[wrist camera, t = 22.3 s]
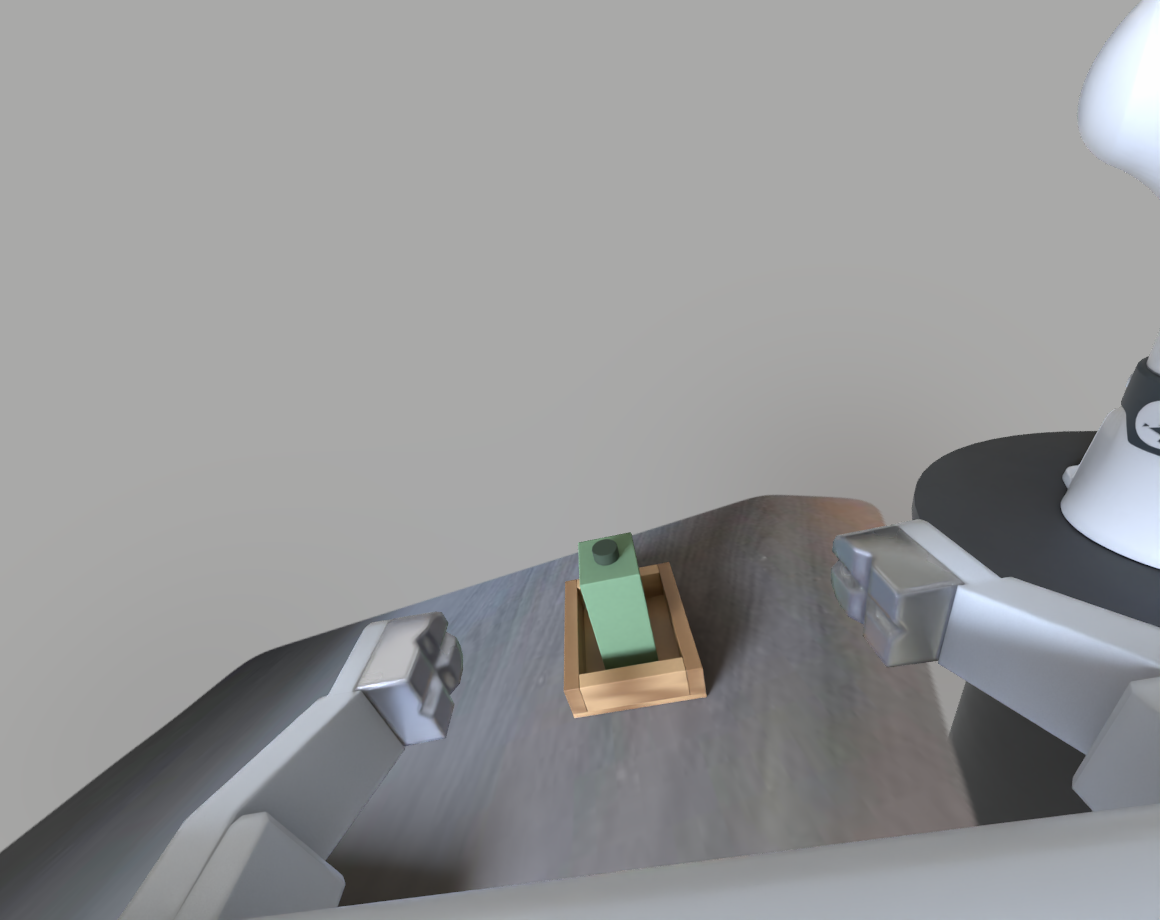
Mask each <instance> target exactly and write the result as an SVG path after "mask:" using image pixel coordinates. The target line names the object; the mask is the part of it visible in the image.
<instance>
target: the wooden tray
mask: <svg viewBox="0 0 1160 920" xmlns="http://www.w3.org/2000/svg"><path fill="white" fill-rule="evenodd" d="M639 571H640V576H641V580H642V585H643V590H644V595H645V599H646V604H647V609H648V613H649V618H650V623H651V627H652V632H653V637H654V641H655V646H656V651H657V655H658V660H659V661H655V662H649V663H643V664H638V665H632V666H626V667H620V668H614V669H608V670H605V666H604V663H603V660H602V657H601V653H600V650H599V647H598V644H597V640H596V637H595V634H594V631H593V627H592V624H591V621H590V618H589V614H588V611H587V608H586V605H585V601H584V598H583V595H582V592H581V588H580V581H579V579H578V580H571V581H566V582H565V642H564V693H565V695H566V698H567V700H568V703H569V705H570V708H571V710H572V713H573V715H574V718H579V717H585V716H591V715H597V714H603V713H610V712H616V711H622V710H628V709H635V708H641V707H647V706H653V705H659V704H666V703H672V702H678V701H684V700H690V699H697V698H703V697H707V694H706V687H705V680H704V673H703V667H702V664H701V661H700V657H699V654H698V651H697V648H696V645H695V642H694V638H693V635H692V632H691V629H690V626H689V623H688V619H687V616H686V613H685V610H684V607H683V604H682V600H681V597H680V594H679V591H678V588H677V584H676V581H675V578H674V575H673V572H672V569H671V565H670V562H666V563H661V564H656V565H651V566H645V567H640V568H639Z"/></svg>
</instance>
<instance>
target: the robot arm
mask: <svg viewBox="0 0 1160 920" xmlns="http://www.w3.org/2000/svg"><path fill="white" fill-rule="evenodd" d="M1077 119H1078V128H1079V131H1080V135H1081V138H1082V140H1083V142H1084V144H1085V145H1086V147H1087V148H1088V149H1089V151H1090V152H1091V153H1092V154H1093V155H1094V156H1096V157H1097V158H1098V159H1099V160H1101V161H1103V162H1104V163H1106V164H1108V165H1110V166H1113V167H1115V168H1118V169H1120V170H1123V171H1124V172H1126V173H1128V174H1129V175H1131V176H1133V177H1135V178H1136V179H1138V180H1139V181H1140V182H1142V183H1143V184H1144V185H1145V186H1147V187H1148V188H1149V189H1150V190H1151V191H1152V192H1153V193H1154V194H1155V195H1156V196H1157V197H1158V199H1159V200H1160V0H1141V1H1140V2H1139V3H1138V4H1137V5H1136V7H1134V8H1133V10H1132V11H1131V12H1130V13H1129V14H1128V15H1127V16H1126V17H1125V18H1124V20H1123V21H1122V22H1121V23H1120V24H1119V25H1118V27H1117V28H1116V29H1115V31H1114V32H1113V33H1112V35H1111V36H1110V37H1109V39H1108V40H1107V41H1106V42H1105V44H1104V46H1103V47H1102V49H1101V50H1100V52H1099V53H1098V55H1097V56H1096V58H1095V60H1094V62H1093V64H1092V66H1091V68H1090V69H1089V72H1088V74H1087V76H1086V79H1085V81H1084V84H1083V87H1082V90H1081V93H1080V98H1079V103H1078V112H1077ZM1126 387H1127V389H1126V391H1125V393H1124V396H1123V398H1122V401H1121V405H1122V407H1119V408H1116V409H1113V410H1112V411H1110V412H1109V413H1108V415H1107V416H1106V418H1105V419H1104V421H1103V423H1102V425H1101V427H1100V428H1099V430H1098V432H1097V433H1096V435H1095V437H1094V439H1093V441H1092V442H1091V444H1090V446H1089V448H1088V450H1087V452H1086V454H1085V455H1084V457H1083V459H1082V461H1081V463H1080V465H1076V466H1070V467H1068V468H1067V469H1066V471H1065V472H1064V474H1063V476H1062V479H1063V481H1064V483H1065V485H1066V487H1067V488H1068V490H1067V492H1066V494H1065V495H1064V497H1063V498H1062V501H1061V510H1062V513H1063V515H1064V516H1065V518H1066V519H1067V520H1068V521H1069V523H1070V524H1071V525H1072V526H1074V527H1075V528H1076V529H1077V530H1078V531H1080V532H1081V533H1082V534H1084V535H1085V536H1087V537H1088V538H1090V539H1091V540H1093V541H1095V542H1097V543H1098V544H1100V545H1102V546H1104V547H1106V548H1108V549H1110V550H1112V551H1114V552H1116V553H1119V554H1121V555H1123V556H1125V557H1128V558H1130V559H1133V560H1135V561H1138V562H1141V563H1143V564H1146V565H1149V566H1152V567H1155V568H1158V569H1160V330H1159V333H1158V335H1157V338H1156V340H1155V343H1154V345H1153V348H1152V351H1151V353H1150V355H1149V356H1148V357H1146V358H1144V359H1142V360H1141V361H1140V362H1139V363H1138V365H1137V367H1136V369H1135V371H1134V373H1133V374H1132V375H1131V376H1130V377H1129V379H1128V381H1127V384H1126ZM832 552H833V553H834V554H835V555H836V557H837V558H838V559H839V560H838V561H837V563H836V564H835V565H834V566H833V567H832V568H831V583H832V587H833V590H834V594H835V596H836V598H837V600H838V602H839V604H840V606H841V607H842V609H843V610H844V611H845V613H846V614H847V616H848V617H850V618H852V619H854V620H856V621H858V622H860V623H862V624H864V629H863V637H864V638H865V640H866V641H867V642H868V644H869V645H870V646H871V648H872V649H873V650H874V651H875V653H876V654H877V655H878V657H879V658H880V659H881V661H882V662H883V663H884V665H885V666H886V667H894V666H902V665H909V664H917V663H925V662H932V661H938V664H940V665H941V666H943V667H945V668H946V669H948V670H950V671H951V672H953V673H954V674H956V675H958V676H959V677H961V678H963V679H964V680H966V681H967V682H969V683H970V684H972V685H974V686H975V687H977V688H979V689H980V690H982V691H983V692H985V693H987V694H988V695H990V696H991V697H993V698H995V699H996V700H998V701H1000V702H1001V703H1003V704H1004V705H1006V706H1008V707H1009V708H1011V709H1012V710H1014V711H1016V712H1017V713H1019V714H1021V715H1022V716H1024V717H1025V718H1027V719H1029V720H1030V721H1032V722H1034V723H1035V724H1037V725H1038V726H1040V727H1042V728H1043V729H1045V730H1046V731H1048V732H1050V733H1051V734H1053V735H1055V736H1056V737H1058V738H1059V739H1061V740H1063V741H1064V742H1066V743H1067V744H1069V745H1071V746H1072V747H1074V748H1076V749H1077V750H1079V751H1080V752H1082V753H1084V754H1085V755H1086V756H1085V758H1084V760H1083V761H1082V763H1081V765H1080V766H1079V768H1078V770H1077V771H1076V773H1075V775H1074V776H1073V782H1072V789H1073V790H1074V791H1075V792H1076V793H1077V794H1078V795H1079V796H1080V797H1081V799H1082V800H1083V801H1084V802H1085V803H1086V804H1087V805H1088V806H1089V807H1090V808H1091V810H1092V811H1093V812H1087V813H1079V814H1071V815H1063V816H1055V817H1047V818H1040V819H1032V820H1024V821H1016V822H1008V823H1000V824H992V825H984V826H976V827H968V828H960V829H952V830H944V831H936V832H929V833H921V834H913V835H905V836H897V837H889V838H881V839H873V840H865V841H857V842H849V843H841V844H833V845H826V846H818V847H810V848H802V849H794V850H786V851H778V852H770V853H762V854H754V855H746V856H738V857H730V858H722V859H715V860H707V861H699V862H691V863H683V864H675V865H667V866H659V867H651V868H643V869H635V870H627V871H619V872H611V873H604V874H596V875H588V876H580V877H572V878H564V879H556V880H548V881H540V882H532V883H524V884H517V885H509V886H501V887H493V888H485V889H477V890H469V891H461V892H453V893H446V894H438V895H430V896H422V897H414V898H406V899H398V900H390V901H382V902H374V903H367V904H359V905H351V906H343V907H338V905H339V902H340V899H341V896H342V893H343V890H344V887H345V881H344V878H343V875H342V874H340V873H339V872H338V871H337V870H336V869H334V868H333V867H332V866H331V865H330V864H328V863H327V862H326V859H327V858H328V857H329V855H330V854H331V852H332V851H333V850H334V848H335V847H336V845H337V844H338V842H339V841H340V840H341V838H342V837H343V835H344V834H345V833H346V831H347V830H348V828H349V827H350V826H351V824H352V823H353V821H354V820H355V819H356V817H357V816H358V814H359V813H360V812H361V810H362V809H363V807H364V806H365V805H366V803H367V802H368V800H369V799H370V798H371V796H372V795H373V793H374V792H375V791H376V789H377V788H378V786H379V785H380V784H381V782H382V781H383V779H384V778H385V777H386V775H387V774H388V772H389V771H390V770H391V768H392V767H393V765H394V764H395V763H396V761H397V760H398V758H399V757H400V756H401V754H402V753H403V751H404V750H405V747H404V746H409V745H414V744H419V743H424V742H430V741H435V740H440V739H445V738H446V735H447V731H448V727H449V723H450V720H451V716H452V712H453V708H454V703H453V701H452V699H451V696H450V694H451V693H452V692H453V691H454V690H455V688H456V687H457V686H458V685H459V684H460V680H461V676H462V671H463V654H462V650H461V646H460V644H459V642H458V640H457V638H456V637H455V636H453V635H451V634H449V633H447V632H446V629H447V626H448V622H447V620H446V618H445V617H444V615H443V613H442V612H431V613H425V614H419V615H413V616H407V617H401V618H395V619H392V620H386V621H379V622H373V623H371V624H369V625H368V626H367V627H365V628H364V630H363V632H362V634H361V636H360V637H359V639H358V641H357V643H356V645H355V647H354V649H353V650H352V652H351V654H350V656H349V658H348V660H347V661H346V663H345V665H344V667H343V669H342V671H341V672H340V674H339V676H338V678H337V680H336V682H335V684H334V685H333V687H332V689H331V691H330V693H329V695H328V696H325V697H320V698H319V699H318V700H317V701H316V702H315V703H314V704H313V705H311V706H310V707H309V708H308V709H307V710H306V711H305V712H304V713H303V714H302V715H300V716H299V717H298V718H297V719H296V720H295V721H294V722H293V723H292V724H291V725H289V726H288V727H287V728H286V729H285V730H284V731H283V732H282V733H281V734H280V735H278V736H277V737H276V738H275V739H274V740H273V741H272V742H271V743H270V744H268V745H267V746H266V747H265V748H264V749H263V750H262V751H261V752H260V753H259V754H257V755H256V756H255V757H254V758H253V759H252V760H251V761H250V762H249V763H248V764H246V765H245V766H244V767H243V768H242V769H241V770H240V771H239V772H238V773H237V774H235V775H234V776H233V777H232V778H231V779H230V780H229V781H228V782H227V783H226V784H224V785H223V786H222V787H221V788H220V789H219V790H218V791H217V792H216V793H214V794H213V795H212V796H211V797H210V798H209V799H208V800H207V801H206V802H205V803H203V804H202V805H201V806H200V807H199V808H198V809H197V810H196V811H195V812H194V813H192V814H191V815H190V816H189V817H188V818H187V819H186V820H185V821H184V822H183V824H182V825H181V827H180V828H179V830H178V831H177V833H176V834H175V836H174V837H173V839H172V840H171V841H170V843H169V844H168V846H167V847H166V849H165V850H164V852H163V853H162V855H161V856H160V858H159V859H158V861H157V862H156V864H155V865H154V867H153V868H152V870H151V871H150V873H149V874H148V876H147V877H146V879H145V880H144V882H143V883H142V885H141V886H140V888H139V889H138V891H137V892H136V894H135V895H134V897H133V898H132V899H131V901H130V902H129V904H128V905H127V907H126V908H125V910H124V911H123V913H122V914H121V916H120V917H119V919H118V920H1160V628H1159V627H1156V626H1153V625H1150V624H1147V623H1144V622H1141V621H1138V620H1136V619H1133V618H1130V617H1127V616H1124V615H1121V614H1118V613H1115V612H1112V611H1109V610H1106V609H1103V608H1100V607H1098V606H1095V605H1092V604H1089V603H1086V602H1083V601H1080V600H1077V599H1074V598H1071V597H1068V596H1065V595H1062V594H1060V593H1057V592H1054V591H1051V590H1048V589H1045V588H1042V587H1039V586H1036V585H1033V584H1030V583H1027V582H1024V581H1022V580H1019V579H1016V578H1013V577H1006V578H1000V577H999V576H997V575H996V574H995V573H993V572H992V571H991V570H989V569H988V568H987V567H986V566H984V565H983V564H982V563H980V562H979V561H978V560H976V559H975V558H974V557H973V556H971V555H970V554H969V553H967V552H966V551H965V550H963V549H962V548H961V547H960V546H958V545H957V544H956V543H954V542H953V541H952V540H950V539H949V538H948V537H947V536H945V535H944V534H943V533H941V532H940V531H939V530H937V529H936V528H935V527H933V526H932V525H931V524H930V523H928V522H926V521H923V520H920V519H917V520H912V521H907V522H902V523H897V524H892V525H890V526H883V527H878V528H873V529H868V530H863V531H858V532H853V533H848V534H843V535H838V536H836V538H835V539H834V541H833V550H832Z"/></svg>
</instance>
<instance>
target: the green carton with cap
mask: <svg viewBox="0 0 1160 920" xmlns="http://www.w3.org/2000/svg"><path fill="white" fill-rule="evenodd" d="M578 550H579V581H580V588H581V592H582V595H583V598H584V601H585V605H586V608H587V611H588V614H589V618H590V621H591V624H592V627H593V631H594V634H595V637H596V640H597V644H598V647H599V650H600V653H601V657H602V660H603V663H604V666H605V670H608V669H614V668H620V667H626V666H632V665H638V664H643V663H649V662H655V661H659V660H658V655H657V651H656V646H655V641H654V637H653V632H652V627H651V623H650V618H649V613H648V609H647V604H646V599H645V595H644V590H643V585H642V580H641V576H640V571H639V567H638V562H637V557H636V553H635V548H634V544H633V539H632V534H631V533H625V534H619V535H615V536H610V537H604V538H599V539H594V540H590V541H584V542H579V543H578Z"/></svg>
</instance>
